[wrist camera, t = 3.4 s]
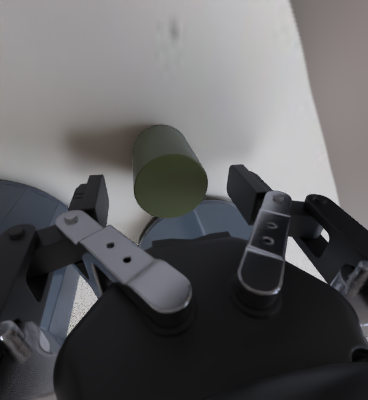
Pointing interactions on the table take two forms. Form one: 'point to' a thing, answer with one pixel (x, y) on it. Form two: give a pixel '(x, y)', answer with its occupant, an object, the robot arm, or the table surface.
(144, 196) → the tin
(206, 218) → the lid
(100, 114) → the table surface
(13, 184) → the canister
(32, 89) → the table surface
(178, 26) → the table surface
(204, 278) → the robot arm
